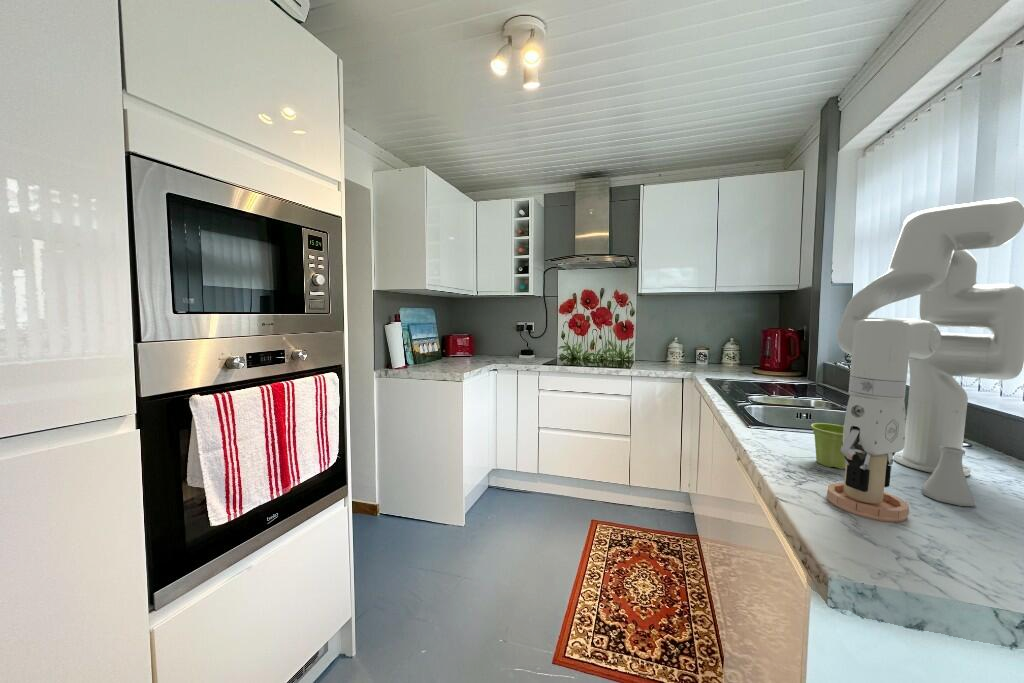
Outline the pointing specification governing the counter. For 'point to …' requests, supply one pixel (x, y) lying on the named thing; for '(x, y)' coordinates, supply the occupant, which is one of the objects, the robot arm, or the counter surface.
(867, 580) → the counter surface
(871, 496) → the candle
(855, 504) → the candle dish
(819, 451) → the plant pot
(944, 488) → the flask
